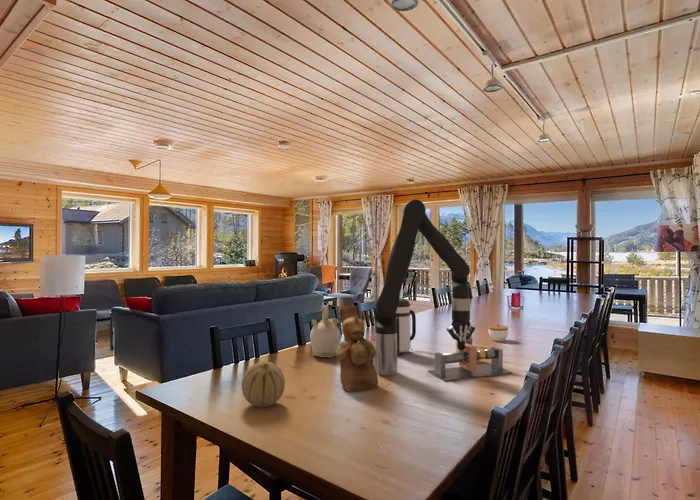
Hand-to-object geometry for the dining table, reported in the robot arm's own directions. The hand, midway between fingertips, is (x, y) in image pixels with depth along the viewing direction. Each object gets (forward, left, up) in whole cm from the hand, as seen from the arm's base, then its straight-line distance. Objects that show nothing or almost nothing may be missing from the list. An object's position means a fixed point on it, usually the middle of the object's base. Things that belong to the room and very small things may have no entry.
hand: (461, 349), depth 175 cm
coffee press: (-9, +42, -10) cm, 44 cm away
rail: (+4, 0, -10) cm, 11 cm away
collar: (+3, 0, -8) cm, 9 cm away
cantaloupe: (-83, -8, -10) cm, 84 cm away
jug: (-46, +50, -10) cm, 69 cm away
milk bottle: (+14, +19, -10) cm, 26 cm away
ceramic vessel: (-46, +3, -10) cm, 47 cm away
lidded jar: (+55, +47, -10) cm, 73 cm away
